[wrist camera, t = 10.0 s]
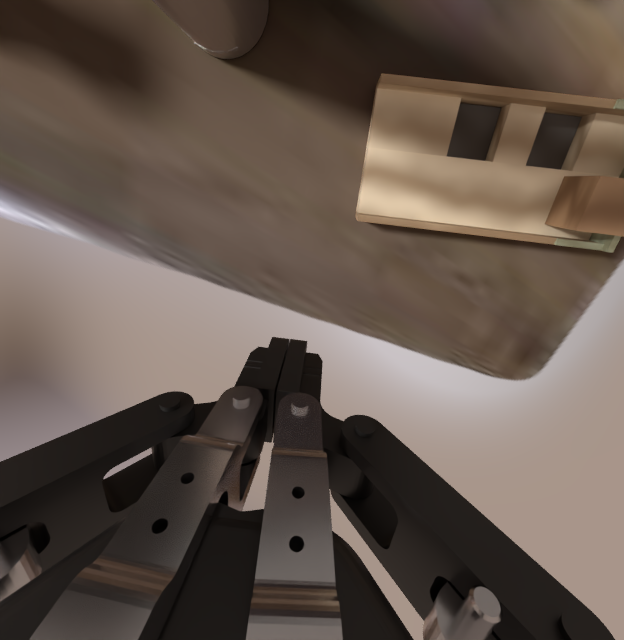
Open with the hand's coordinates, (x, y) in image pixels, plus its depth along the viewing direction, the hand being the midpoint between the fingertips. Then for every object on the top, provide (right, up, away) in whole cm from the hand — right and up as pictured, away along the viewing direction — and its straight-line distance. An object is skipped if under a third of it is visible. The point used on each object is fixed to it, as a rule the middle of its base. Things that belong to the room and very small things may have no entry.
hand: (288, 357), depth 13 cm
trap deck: (+21, +19, +22) cm, 35 cm away
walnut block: (+30, +15, +21) cm, 40 cm away
